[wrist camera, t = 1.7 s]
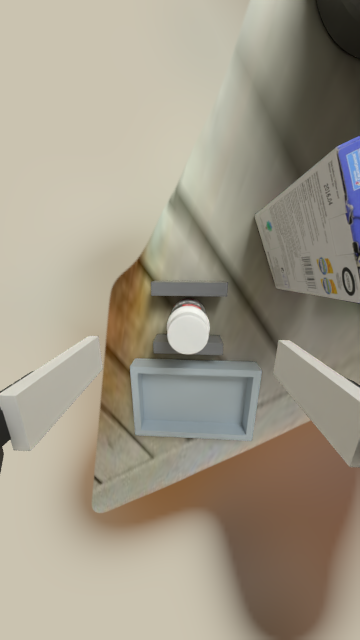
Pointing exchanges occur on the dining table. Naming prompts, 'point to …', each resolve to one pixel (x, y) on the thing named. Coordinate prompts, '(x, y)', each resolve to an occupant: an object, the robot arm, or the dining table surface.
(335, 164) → the ink cartridge box
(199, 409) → the parts tray
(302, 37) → the dining table surface
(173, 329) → the pill bottle
